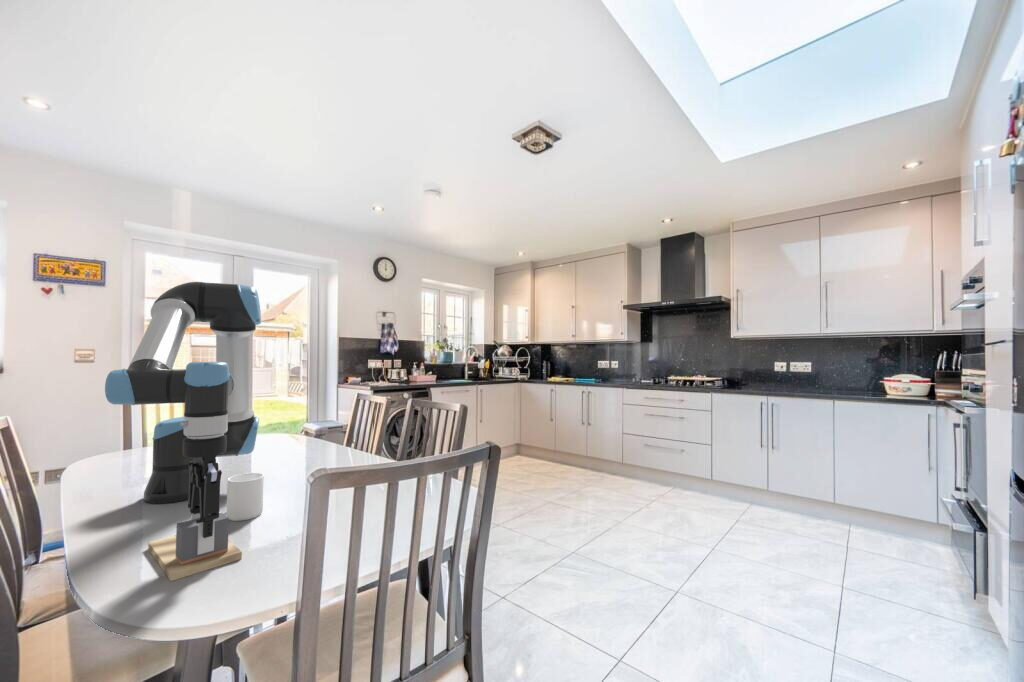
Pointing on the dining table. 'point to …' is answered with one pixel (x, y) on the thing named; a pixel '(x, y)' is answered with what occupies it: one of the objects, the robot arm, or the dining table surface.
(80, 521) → the dining table surface
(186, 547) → the block
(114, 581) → the dining table surface
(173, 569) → the board
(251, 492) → the cup
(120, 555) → the dining table surface
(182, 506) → the dining table surface
